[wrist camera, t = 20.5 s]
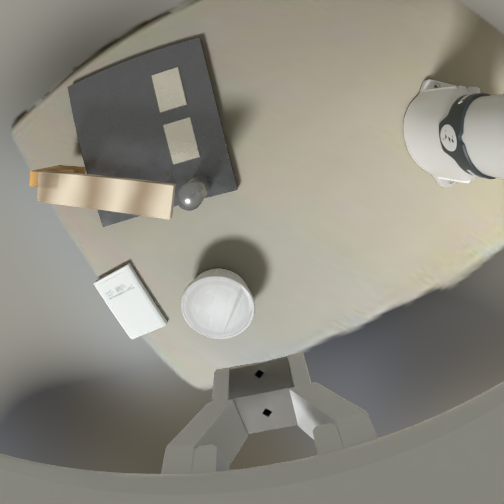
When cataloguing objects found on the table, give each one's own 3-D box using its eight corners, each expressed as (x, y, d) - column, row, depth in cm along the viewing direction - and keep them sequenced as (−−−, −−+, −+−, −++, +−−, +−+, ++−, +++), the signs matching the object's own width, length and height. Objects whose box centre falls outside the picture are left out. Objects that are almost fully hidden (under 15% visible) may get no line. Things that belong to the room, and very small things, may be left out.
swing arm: (185, 178, 43) (173, 185, 35) (181, 206, 44) (169, 219, 36) (59, 165, 41) (30, 171, 33) (57, 190, 42) (29, 200, 35)
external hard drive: (133, 335, 56) (96, 280, 52) (168, 320, 55) (130, 261, 51) (130, 340, 54) (92, 284, 50) (166, 325, 53) (127, 264, 49)
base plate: (200, 39, 39) (188, 9, 28) (237, 188, 47) (236, 203, 36) (71, 87, 40) (30, 78, 29) (105, 225, 48) (72, 248, 37)
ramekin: (259, 315, 54) (261, 332, 49) (196, 327, 55) (193, 344, 50) (245, 255, 51) (246, 268, 46) (177, 269, 51) (171, 283, 46)
